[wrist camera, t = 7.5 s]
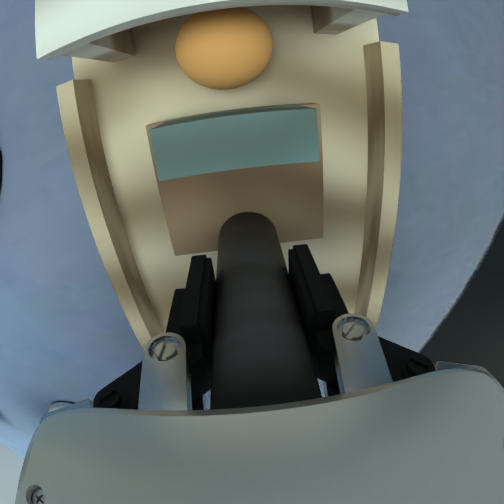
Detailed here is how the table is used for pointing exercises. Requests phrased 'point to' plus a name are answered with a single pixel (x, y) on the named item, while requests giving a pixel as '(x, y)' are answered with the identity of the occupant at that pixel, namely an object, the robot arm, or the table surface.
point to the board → (212, 100)
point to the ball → (224, 47)
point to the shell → (0, 167)
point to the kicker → (247, 237)
